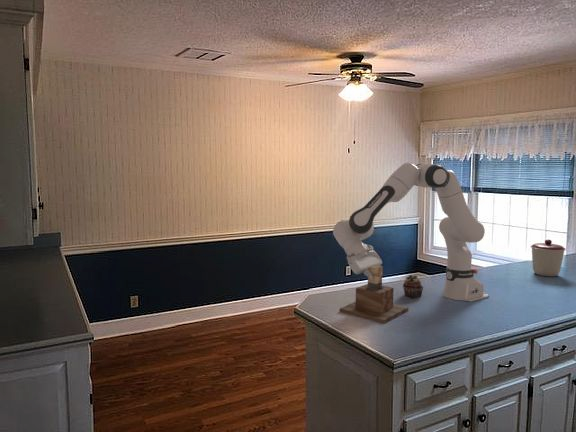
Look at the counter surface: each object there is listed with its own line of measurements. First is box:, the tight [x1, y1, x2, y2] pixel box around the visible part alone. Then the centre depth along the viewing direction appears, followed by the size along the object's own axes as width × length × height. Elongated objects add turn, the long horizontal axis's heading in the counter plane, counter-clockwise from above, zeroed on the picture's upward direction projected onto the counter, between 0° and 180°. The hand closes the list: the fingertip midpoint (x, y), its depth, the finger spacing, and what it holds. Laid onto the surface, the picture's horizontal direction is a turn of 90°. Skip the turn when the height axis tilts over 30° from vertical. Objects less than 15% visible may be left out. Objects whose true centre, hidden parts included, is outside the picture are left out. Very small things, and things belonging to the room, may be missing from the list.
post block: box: [339, 283, 409, 324], centre depth 204 cm, size 22×22×10 cm
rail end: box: [367, 265, 383, 291], centre depth 203 cm, size 4×4×11 cm
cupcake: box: [402, 274, 424, 299], centre depth 228 cm, size 10×10×10 cm
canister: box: [530, 239, 566, 277], centre depth 273 cm, size 18×18×21 cm
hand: (376, 277), depth 202 cm, fingers closed on rail end, 4 cm apart
